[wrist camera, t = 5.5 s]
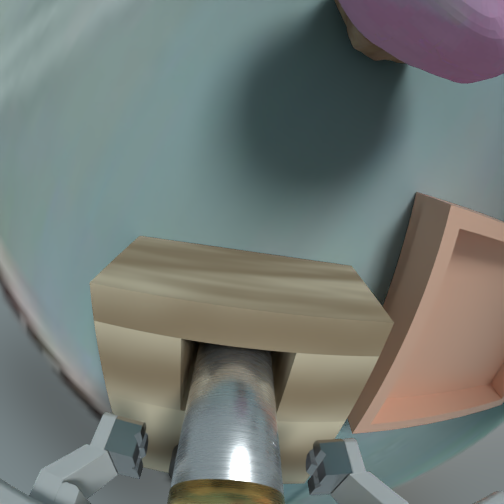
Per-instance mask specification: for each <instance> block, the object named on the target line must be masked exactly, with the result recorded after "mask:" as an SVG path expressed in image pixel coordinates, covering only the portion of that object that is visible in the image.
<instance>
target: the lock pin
mask: <svg viewBox="0 0 504 504" xmlns="http://www.w3.org/2000/svg"><path fill="white" fill-rule="evenodd" d="M167 504H285V501H284V493H283V481H282V469H281V458H280V447H279V435H278V424H277V413H276V403H275V392H274V381H273V371H272V360H271V351H269V350H260V349H251V348H242V347H234V346H226V345H219V344H212V343H205V342H200V345H199V349H198V354H197V358H196V363H195V367H194V372H193V377H192V381H191V386H190V391H189V395H188V400H187V405H186V410H185V415H184V419H183V424H182V429H181V434H180V439H179V445H178V450H177V455H176V460H175V465H174V471H173V476H172V482H171V487H170V491H169V497H168V502H167Z"/></svg>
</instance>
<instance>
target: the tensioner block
mask: <svg viewBox="0 0 504 504" xmlns="http://www.w3.org/2000/svg"><path fill="white" fill-rule="evenodd" d="M90 290H91V300H92V308H93V316H94V324H95V331H96V337H97V343H98V349H99V355H100V360H101V365H102V370H103V375H104V380H105V384H106V389H107V393H108V397H109V401H110V405H111V409H112V413H113V414H115V415H119V416H122V417H125V418H129V419H133V420H137V421H141V422H145V423H146V427H147V428H146V431H145V432H146V433H147V434H148V449H147V453H146V456H145V457H143V458H142V462H143V467H144V468H148V469H152V470H157V471H162V472H166V473H169V475H170V477H171V478H172V476H173V471H174V465H175V460H176V455H177V450H178V445H179V439H180V434H181V429H182V424H183V419H184V415H185V410H186V405H187V400H188V395H189V391H190V386H191V381H192V377H193V372H194V367H195V363H196V358H197V354H198V349H199V345H200V342H205V343H212V344H219V345H226V346H234V347H242V348H251V349H260V350H269V351H271V360H272V371H273V381H274V392H275V403H276V413H277V424H278V435H279V447H280V458H281V469H282V481H283V484H299V483H305V482H306V480H307V479H308V477H309V476H310V475H309V474H308V473H307V472H306V457H307V454H308V452H309V451H310V450H312V449H313V444H314V442H315V441H316V440H330V439H335V437H336V436H337V434H338V432H339V431H340V429H341V427H342V426H343V424H344V422H345V421H346V419H347V417H348V416H349V414H350V412H351V410H352V409H353V407H354V405H355V403H356V401H357V400H358V398H359V396H360V394H361V392H362V390H363V388H364V386H365V384H366V383H367V381H368V379H369V377H370V375H371V373H372V371H373V369H374V367H375V364H376V362H377V360H378V358H379V356H380V354H381V352H382V350H383V347H384V345H385V343H386V341H387V338H388V336H389V334H390V331H391V329H392V327H393V324H394V322H393V321H392V319H391V318H390V316H389V315H388V314H387V312H386V311H385V310H384V308H383V307H382V305H381V304H380V303H379V301H378V300H377V299H376V297H375V296H374V295H373V293H372V292H371V291H370V289H369V288H368V287H367V285H366V284H365V283H364V282H363V280H362V279H361V278H360V276H359V275H358V274H357V272H356V271H355V270H354V269H353V267H352V266H348V265H341V264H334V263H327V262H320V261H313V260H306V259H299V258H292V257H285V256H278V255H271V254H264V253H257V252H250V251H243V250H236V249H229V248H222V247H215V246H208V245H201V244H194V243H186V242H179V241H172V240H165V239H158V238H151V237H144V236H139V237H138V238H137V239H136V240H135V241H133V242H132V243H131V244H130V245H129V246H128V247H127V248H126V249H125V250H124V251H122V252H121V253H120V254H119V255H118V256H117V257H116V258H115V259H114V260H113V261H112V262H111V263H110V264H109V265H107V266H106V267H105V268H104V269H103V270H102V271H101V272H100V273H99V274H98V275H97V276H96V277H95V278H94V279H93V280H92V281H91V282H90Z"/></svg>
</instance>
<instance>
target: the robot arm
mask: <svg viewBox="0 0 504 504" xmlns="http://www.w3.org/2000/svg"><path fill="white" fill-rule="evenodd" d="M146 428H147V427H146V423H145V422H141V421H137V420H133V419H129V418H125V417H122V416H119V415H115V414H112V413H108V412H105V413H104V414H103V416H102V418H101V420H100V422H99V425H98V427H97V429H96V431H95V434H94V436H93V438H92V441H91V443H90V445H88V444H85V445H83V446H82V447H80V448H78V449H76V450H75V451H73V452H71V453H70V454H68V455H66V456H64V457H63V458H61V459H59V460H57V461H55V462H54V463H52V464H50V465H48V466H46V467H44V468H43V469H41V471H40V473H39V475H38V477H37V479H36V482H35V484H34V486H33V488H32V491H31V493H30V495H29V496H28V495H27V494H25V493H23V492H21V491H19V490H18V489H16V488H15V487H13V486H11V485H10V484H8V483H7V482H5V481H3V480H2V479H0V504H91V503H90V502H89V501H88V500H87V499H88V498H89V497H90V496H91V495H93V494H94V493H96V492H97V491H98V490H99V489H101V488H102V487H103V486H104V485H106V484H107V483H108V482H109V481H111V480H112V479H113V478H114V477H116V476H117V475H118V474H121V475H125V476H129V477H133V478H137V479H140V476H141V472H142V468H143V462H142V458H143V457H145V456H146V453H147V449H148V434H147V433H146V432H145V431H146ZM306 472H307V473H308V474H309V475H310V476H311V477H310V479H309V480H308V487H309V493H310V495H321V494H331V496H332V497H333V498H334V499H335V500H336V501H337V503H338V504H409V503H408V502H407V501H406V500H404V499H403V498H402V497H401V496H399V495H398V494H397V493H395V492H394V491H393V490H392V489H390V488H389V487H388V486H387V485H385V484H384V483H383V482H382V481H381V480H379V479H378V478H377V477H376V476H375V475H373V474H372V473H371V472H370V471H368V472H366V469H365V466H364V463H363V460H362V456H361V453H360V450H359V447H358V443H357V440H356V439H355V438H348V439H330V440H316V441H315V442H314V444H313V449H312V450H310V451H309V452H308V454H307V457H306ZM117 473H118V474H117ZM473 504H504V491H496V492H494V493H492V494H490V495H488V496H486V497H485V498H483V499H481V500H479V501H477V502H475V503H473Z"/></svg>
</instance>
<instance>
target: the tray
mask: <svg viewBox="0 0 504 504" xmlns="http://www.w3.org/2000/svg"><path fill="white" fill-rule="evenodd" d="M383 308H384V310H385V311H386V312H387V314H388V315H389V316H390V318H391V319H392V321H393V322H394V324H393V327H392V329H391V331H390V334H389V336H388V338H387V341H386V343H385V345H384V347H383V350H382V352H381V354H380V356H379V358H378V360H377V362H376V364H375V367H374V369H373V371H372V373H371V375H370V377H369V379H368V381H367V383H366V384H365V386H364V388H363V390H362V392H361V394H360V396H359V398H358V400H357V401H356V403H355V405H354V407H353V409H352V410H351V412H350V414H349V416H348V417H347V418H348V421H349V424H350V428H351V431H352V434H354V433H366V432H377V431H385V430H393V429H400V428H407V427H413V426H419V425H425V424H430V423H435V422H440V421H444V420H449V419H453V418H457V417H461V416H465V415H469V414H473V413H476V412H480V411H483V410H487V409H490V408H493V407H496V406H499V405H502V403H503V402H504V222H503V221H501V220H498V219H496V218H493V217H490V216H488V215H485V214H482V213H480V212H477V211H474V210H471V209H468V208H465V207H463V206H460V205H457V204H454V203H451V202H448V201H444V200H441V199H438V198H435V197H432V196H429V195H425V194H422V193H418V192H416V196H415V201H414V205H413V209H412V213H411V217H410V221H409V225H408V229H407V232H406V236H405V240H404V243H403V247H402V250H401V253H400V257H399V260H398V263H397V266H396V269H395V273H394V276H393V279H392V282H391V285H390V287H389V290H388V293H387V296H386V299H385V302H384V304H383Z"/></svg>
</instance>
